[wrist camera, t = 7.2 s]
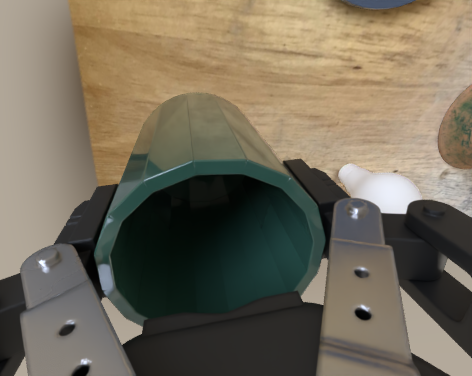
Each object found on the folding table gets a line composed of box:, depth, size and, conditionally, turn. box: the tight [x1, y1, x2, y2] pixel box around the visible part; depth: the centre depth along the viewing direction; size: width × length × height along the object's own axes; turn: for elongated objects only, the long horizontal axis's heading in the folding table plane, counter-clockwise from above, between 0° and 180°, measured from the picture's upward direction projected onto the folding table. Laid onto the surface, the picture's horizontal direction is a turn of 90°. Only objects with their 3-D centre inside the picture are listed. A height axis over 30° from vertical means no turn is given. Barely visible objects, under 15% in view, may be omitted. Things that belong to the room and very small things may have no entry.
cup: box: [94, 93, 326, 327], centre depth 12 cm, size 6×6×9 cm
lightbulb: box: [338, 163, 423, 214], centre depth 30 cm, size 6×6×11 cm
